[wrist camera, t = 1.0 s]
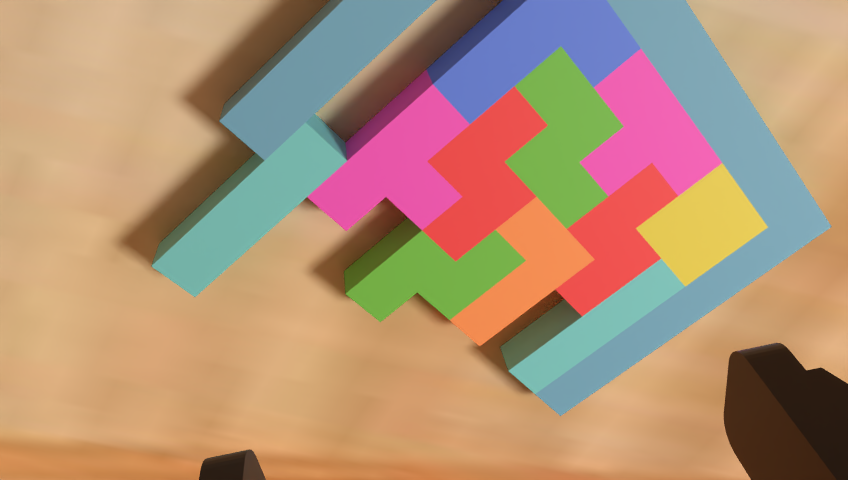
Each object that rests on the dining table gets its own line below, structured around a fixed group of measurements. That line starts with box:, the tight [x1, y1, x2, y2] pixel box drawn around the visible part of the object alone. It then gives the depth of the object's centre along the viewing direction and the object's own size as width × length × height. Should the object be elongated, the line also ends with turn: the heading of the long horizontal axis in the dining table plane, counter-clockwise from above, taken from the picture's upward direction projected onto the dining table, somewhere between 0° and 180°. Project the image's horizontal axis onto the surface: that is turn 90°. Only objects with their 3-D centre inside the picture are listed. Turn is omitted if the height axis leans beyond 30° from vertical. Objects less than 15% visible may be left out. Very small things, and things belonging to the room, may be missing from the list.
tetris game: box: [152, 0, 831, 416], centre depth 40 cm, size 28×3×28 cm
